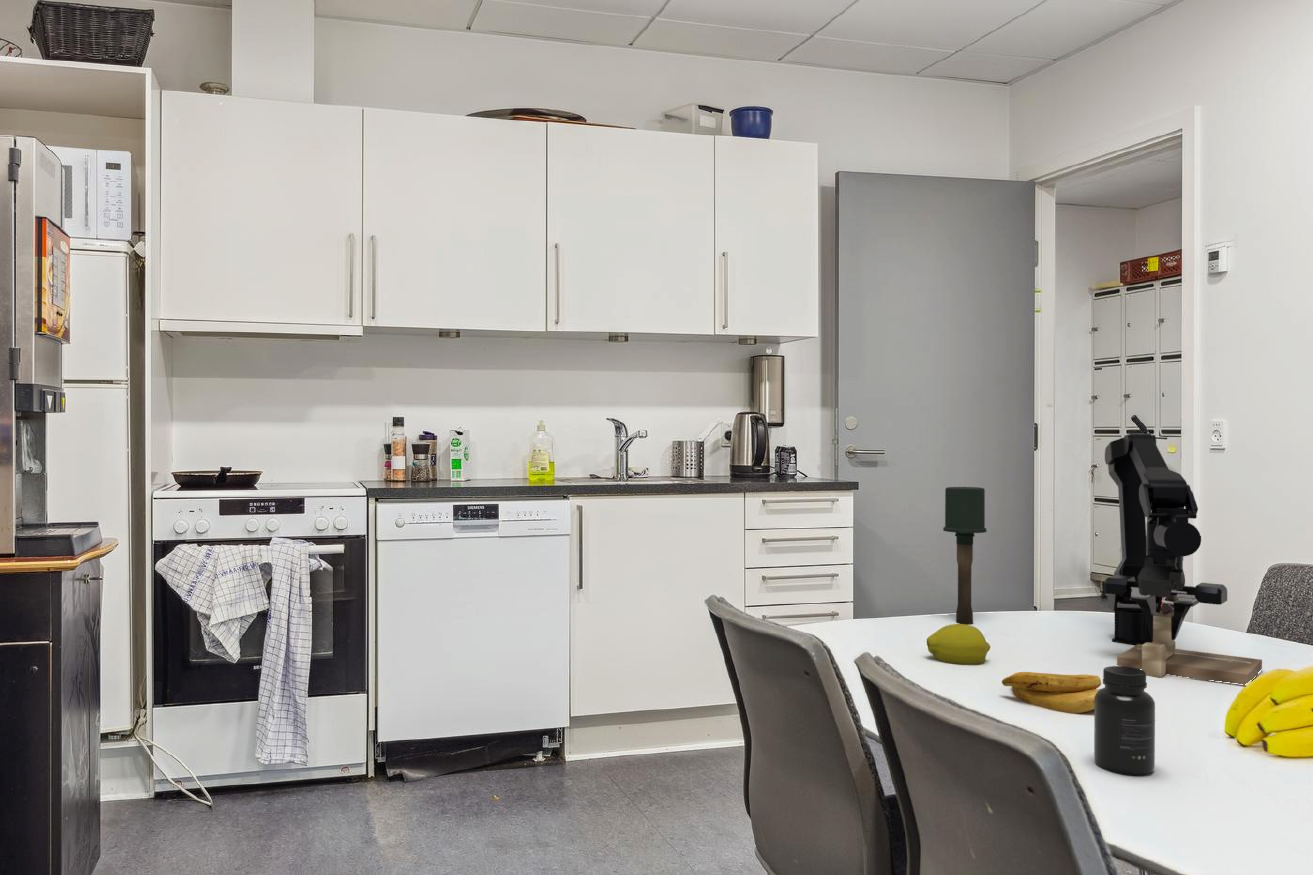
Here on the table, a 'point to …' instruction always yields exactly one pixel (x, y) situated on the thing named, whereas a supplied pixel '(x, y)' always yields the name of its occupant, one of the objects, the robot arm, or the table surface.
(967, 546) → the potato masher grenade
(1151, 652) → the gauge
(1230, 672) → the board
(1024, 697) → the banana
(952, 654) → the lemon
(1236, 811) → the table surface
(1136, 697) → the supplement bottle
